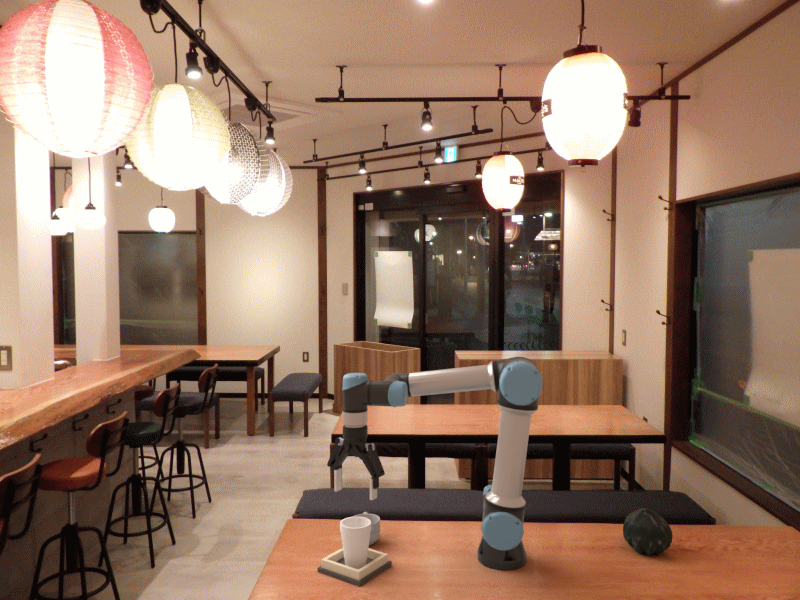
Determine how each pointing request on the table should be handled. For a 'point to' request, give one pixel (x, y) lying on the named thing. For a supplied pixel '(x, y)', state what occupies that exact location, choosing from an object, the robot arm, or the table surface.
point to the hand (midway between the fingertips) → (355, 494)
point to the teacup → (372, 526)
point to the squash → (647, 532)
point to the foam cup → (355, 540)
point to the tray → (339, 570)
